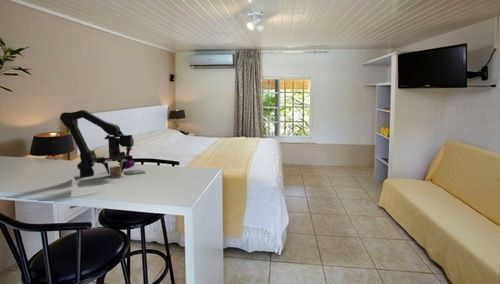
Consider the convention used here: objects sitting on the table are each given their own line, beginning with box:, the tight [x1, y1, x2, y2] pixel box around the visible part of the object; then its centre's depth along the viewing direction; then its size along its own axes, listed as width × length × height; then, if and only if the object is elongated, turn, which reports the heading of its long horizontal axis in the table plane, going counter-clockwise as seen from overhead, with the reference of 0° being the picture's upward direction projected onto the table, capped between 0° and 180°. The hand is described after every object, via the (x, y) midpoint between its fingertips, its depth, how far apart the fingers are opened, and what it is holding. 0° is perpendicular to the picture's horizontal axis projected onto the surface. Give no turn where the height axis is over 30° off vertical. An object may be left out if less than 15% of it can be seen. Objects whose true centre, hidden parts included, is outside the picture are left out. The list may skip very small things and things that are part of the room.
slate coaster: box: [123, 169, 146, 176], centre depth 178 cm, size 10×10×1 cm
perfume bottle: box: [118, 147, 136, 169], centre depth 193 cm, size 8×8×18 cm
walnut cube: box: [109, 165, 122, 178], centre depth 170 cm, size 5×5×5 cm
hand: (115, 173), depth 170 cm, fingers open, 7 cm apart
